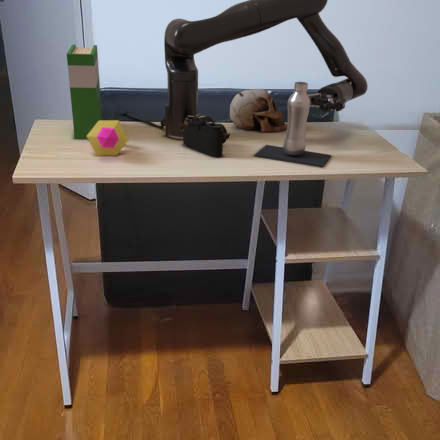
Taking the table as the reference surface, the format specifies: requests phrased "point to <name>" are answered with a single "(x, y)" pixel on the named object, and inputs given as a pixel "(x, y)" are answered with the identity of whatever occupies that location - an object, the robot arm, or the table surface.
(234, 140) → the table surface
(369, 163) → the table surface
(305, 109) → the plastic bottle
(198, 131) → the film camera
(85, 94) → the hardback book
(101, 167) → the table surface
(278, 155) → the mat
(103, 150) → the toy
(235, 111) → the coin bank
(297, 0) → the robot arm
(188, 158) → the table surface
